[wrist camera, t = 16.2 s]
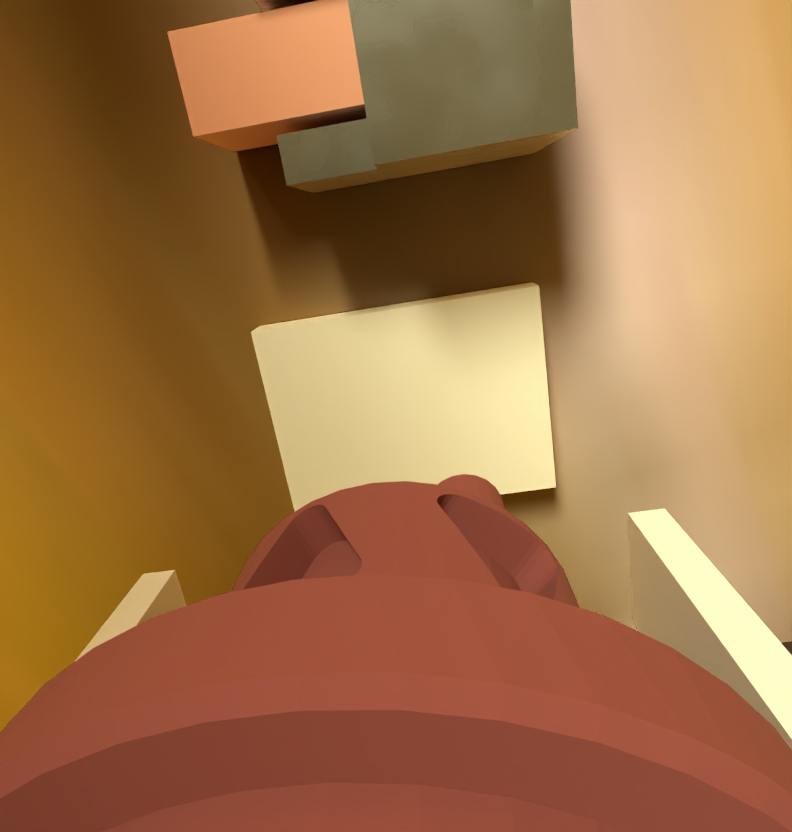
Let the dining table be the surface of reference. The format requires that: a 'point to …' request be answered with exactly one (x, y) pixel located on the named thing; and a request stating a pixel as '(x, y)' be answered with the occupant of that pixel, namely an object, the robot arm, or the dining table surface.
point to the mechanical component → (392, 697)
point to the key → (269, 74)
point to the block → (412, 393)
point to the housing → (442, 90)
